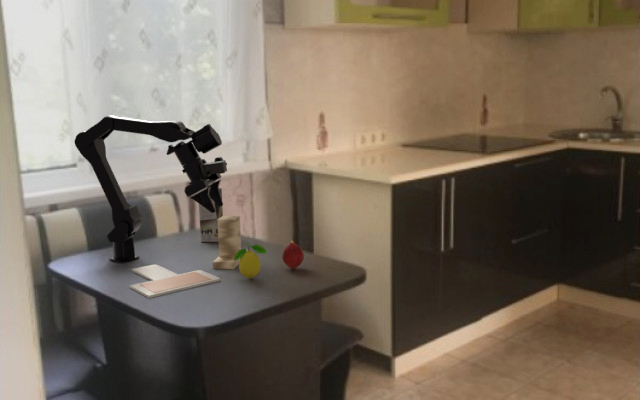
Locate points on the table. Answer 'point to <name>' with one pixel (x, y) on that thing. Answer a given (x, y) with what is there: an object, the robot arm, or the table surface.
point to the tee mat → (169, 280)
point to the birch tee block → (228, 242)
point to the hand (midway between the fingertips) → (217, 209)
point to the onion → (293, 255)
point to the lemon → (249, 261)
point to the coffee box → (210, 222)
